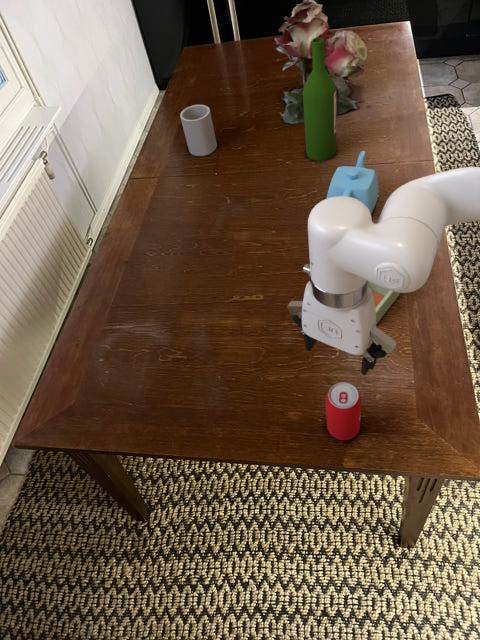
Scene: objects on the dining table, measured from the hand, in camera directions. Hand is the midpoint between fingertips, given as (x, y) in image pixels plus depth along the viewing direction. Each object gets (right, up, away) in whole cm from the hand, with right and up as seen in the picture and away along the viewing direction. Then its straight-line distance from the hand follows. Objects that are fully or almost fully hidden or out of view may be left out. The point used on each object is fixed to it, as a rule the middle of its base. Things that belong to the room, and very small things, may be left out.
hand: (339, 355), depth 84 cm
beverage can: (+4, -15, +18) cm, 24 cm away
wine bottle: (+9, +56, +74) cm, 93 cm away
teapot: (+15, +36, +57) cm, 70 cm away
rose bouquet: (+11, +80, +93) cm, 123 cm away
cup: (-28, +61, +85) cm, 108 cm away
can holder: (+16, +12, +37) cm, 42 cm away
